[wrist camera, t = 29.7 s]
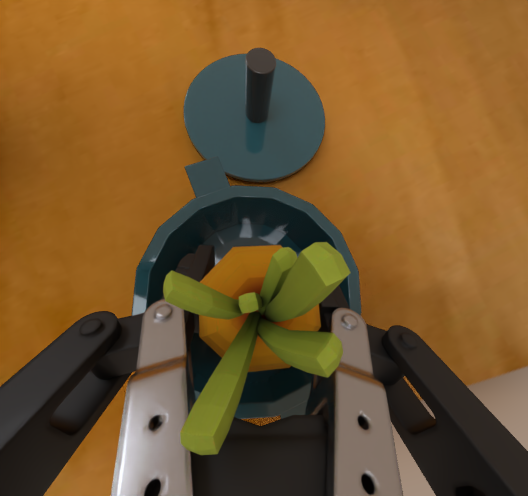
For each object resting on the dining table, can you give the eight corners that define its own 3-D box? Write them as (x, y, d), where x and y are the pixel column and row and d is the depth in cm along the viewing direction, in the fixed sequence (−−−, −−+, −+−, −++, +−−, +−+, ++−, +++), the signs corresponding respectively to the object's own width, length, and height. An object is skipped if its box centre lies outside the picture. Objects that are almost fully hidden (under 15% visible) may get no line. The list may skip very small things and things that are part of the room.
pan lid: (215, 204, 20) (203, 171, 13) (167, 82, 21) (136, 2, 15) (341, 160, 22) (380, 115, 16) (290, 52, 23) (306, -28, 17)
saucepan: (217, 423, 17) (197, 525, 10) (146, 220, 19) (88, 187, 12) (353, 352, 19) (416, 396, 12) (276, 176, 21) (292, 126, 14)
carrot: (237, 329, 17) (188, 669, 2) (213, 277, 17) (45, 263, 3) (287, 303, 18) (504, 419, 3) (263, 253, 18) (346, 141, 3)
